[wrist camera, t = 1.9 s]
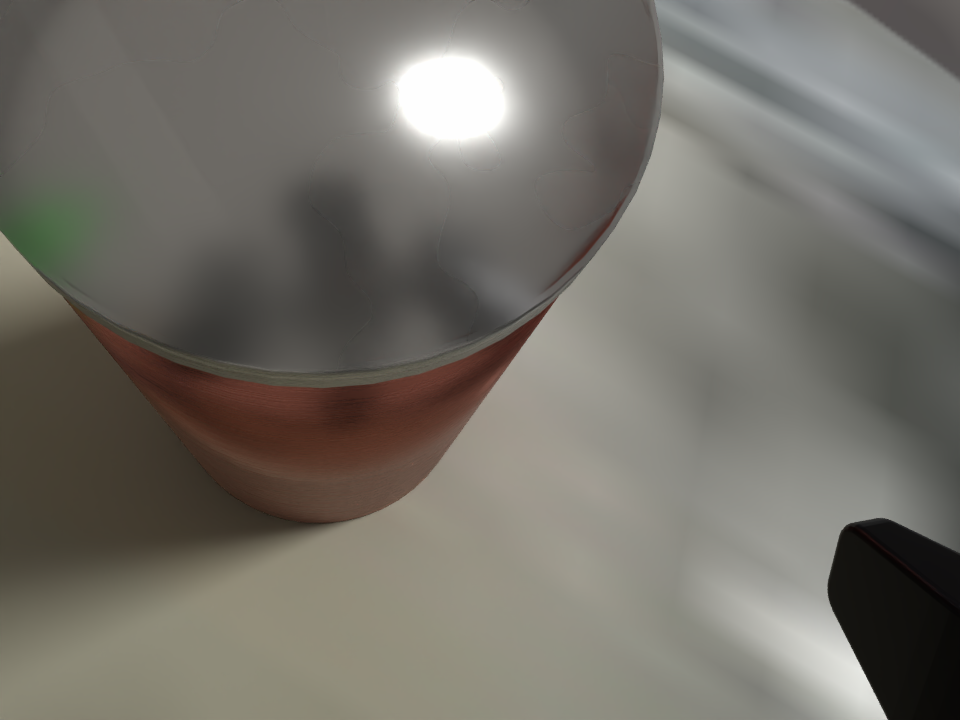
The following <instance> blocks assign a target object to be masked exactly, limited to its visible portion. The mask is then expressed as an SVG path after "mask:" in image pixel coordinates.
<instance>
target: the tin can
mask: <svg viewBox="0 0 960 720" xmlns="http://www.w3.org/2000/svg"><path fill="white" fill-rule="evenodd" d="M663 82H664V71H663V53H662V38H661V33H660V28H659V23H658V18H657V13H656V8H655V3H654V0H0V231H1V232H2V233H3V234H4V235H5V237H6V238H7V239H8V240H9V241H10V243H11V244H12V245H13V246H14V247H15V249H16V250H17V251H18V252H19V253H20V254H21V255H22V256H23V257H24V258H25V259H26V261H27V262H28V263H29V264H30V265H31V266H32V267H33V268H34V269H35V270H36V271H37V272H38V274H39V275H40V276H41V277H42V278H43V279H44V280H45V281H46V282H47V283H48V284H49V285H50V286H51V287H52V288H53V289H55V290H56V291H57V292H58V293H60V294H61V295H62V296H63V297H64V299H65V300H66V301H67V302H68V303H69V305H70V306H71V307H72V308H73V310H74V311H75V312H76V313H77V314H78V316H79V317H80V318H81V319H82V321H83V322H84V323H85V324H86V325H87V327H88V328H89V329H90V330H91V331H92V333H93V334H94V335H95V336H96V338H97V339H98V340H99V341H100V342H101V344H102V345H103V346H104V347H105V349H106V350H107V351H108V352H109V353H110V355H111V356H112V357H113V358H114V360H115V361H116V362H117V363H118V364H119V366H120V367H121V368H122V369H123V370H124V372H125V373H126V374H127V375H128V377H129V378H130V379H131V380H132V381H133V383H134V384H135V385H136V386H137V388H138V389H139V390H140V391H141V392H142V394H143V395H144V396H145V397H146V399H147V400H148V401H149V402H150V403H151V405H152V406H153V407H154V408H155V409H156V411H157V412H158V413H159V414H160V416H161V417H162V418H163V419H164V420H165V422H166V423H167V424H168V425H169V427H170V428H171V429H172V430H173V431H174V433H175V434H176V435H177V436H178V438H179V439H180V440H181V441H182V442H183V444H184V445H185V446H186V447H187V448H188V450H189V451H190V452H191V453H192V455H193V456H194V457H195V458H196V459H197V461H198V462H199V463H200V464H201V466H202V467H203V468H204V469H205V470H206V471H207V473H208V474H209V475H210V476H211V477H212V478H213V479H214V480H215V481H216V482H217V483H218V484H219V485H220V486H221V487H222V488H224V489H225V490H226V491H227V492H228V493H230V494H231V495H232V496H234V497H235V498H237V499H238V500H240V501H242V502H243V503H245V504H246V505H248V506H250V507H252V508H254V509H257V510H259V511H261V512H263V513H266V514H268V515H272V516H275V517H278V518H282V519H285V520H291V521H298V522H304V523H331V522H340V521H346V520H351V519H355V518H359V517H363V516H366V515H368V514H371V513H374V512H376V511H379V510H381V509H383V508H385V507H387V506H389V505H390V504H392V503H394V502H396V501H398V500H399V499H401V498H402V497H403V496H405V495H406V494H408V493H409V492H410V491H412V490H413V489H414V488H415V487H416V486H417V485H418V484H419V483H421V482H422V481H423V480H424V479H425V478H426V477H427V476H428V474H429V473H430V472H431V471H432V470H433V468H434V467H435V466H436V465H437V463H438V462H439V461H440V459H441V458H442V457H443V455H444V454H445V452H446V451H447V450H448V448H449V447H450V445H451V444H452V443H453V441H454V440H455V439H456V437H457V436H458V434H459V433H460V432H461V430H462V429H463V428H464V426H465V425H466V423H467V422H468V421H469V419H470V418H471V416H472V415H473V414H474V412H475V411H476V410H477V408H478V407H479V405H480V404H481V403H482V401H483V400H484V399H485V397H486V396H487V394H488V393H489V392H490V390H491V389H492V387H493V386H494V385H495V383H496V382H497V381H498V379H499V378H500V376H501V375H502V374H503V372H504V371H505V370H506V368H507V367H508V365H509V364H510V363H511V361H512V360H513V358H514V357H515V356H516V354H517V353H518V352H519V350H520V349H521V347H522V346H523V345H524V343H525V342H526V340H527V339H528V338H529V336H530V335H531V334H532V332H533V331H534V329H535V328H536V327H537V325H538V324H539V323H540V321H541V320H542V318H543V317H544V316H545V314H546V313H547V311H548V310H549V309H550V307H551V306H552V305H553V303H554V302H555V300H556V299H557V298H558V296H559V295H560V294H561V293H562V292H563V291H564V290H566V289H567V288H568V287H569V286H570V285H571V284H572V282H573V281H574V280H575V279H576V277H577V276H578V275H579V274H580V273H581V271H582V270H583V269H584V268H585V266H586V265H587V264H588V263H589V261H590V260H591V259H592V258H593V257H594V255H595V254H596V253H597V251H598V250H599V249H600V247H601V246H602V245H603V243H604V242H605V241H606V239H607V238H608V237H609V235H610V234H611V233H612V231H613V230H614V228H615V227H616V225H617V223H618V222H619V220H620V218H621V217H622V215H623V213H624V212H625V210H626V208H627V207H628V205H629V203H630V202H631V200H632V198H633V197H634V195H635V193H636V191H637V189H638V186H639V184H640V181H641V179H642V176H643V174H644V171H645V169H646V166H647V164H648V162H649V159H650V157H651V153H652V149H653V145H654V141H655V137H656V133H657V129H658V124H659V120H660V116H661V104H662V93H663Z"/></svg>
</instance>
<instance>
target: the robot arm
mask: <svg viewBox="0 0 960 720" xmlns="http://www.w3.org/2000/svg"><path fill="white" fill-rule="evenodd" d="M828 597H829V601H830V605H831V607H832V610H833V612H834V614H835V616H836V618H837V620H838V622H839V624H840V626H841V628H842V630H843V632H844V634H845V636H846V638H847V640H848V642H849V643H850V645H851V647H852V649H853V651H854V653H855V655H856V657H857V659H858V661H859V663H860V665H861V667H862V669H863V671H864V673H865V675H866V677H867V679H868V681H869V683H870V685H871V687H872V689H873V691H874V693H875V695H876V697H877V699H878V701H879V703H880V705H881V707H882V709H883V711H884V713H885V715H886V717H887V719H888V720H960V553H958V552H956V551H954V550H952V549H950V548H947V547H945V546H943V545H941V544H939V543H937V542H935V541H933V540H931V539H929V538H927V537H925V536H923V535H921V534H919V533H916V532H914V531H912V530H910V529H908V528H906V527H904V526H902V525H900V524H898V523H896V522H894V521H891V520H889V519H885V518H876V519H871V520H865V521H860V522H855V523H850V524H848V525H846V526H845V527H844V529H843V530H842V531H841V533H840V536H839V539H838V543H837V547H836V551H835V555H834V559H833V563H832V567H831V571H830V575H829V579H828Z"/></svg>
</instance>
